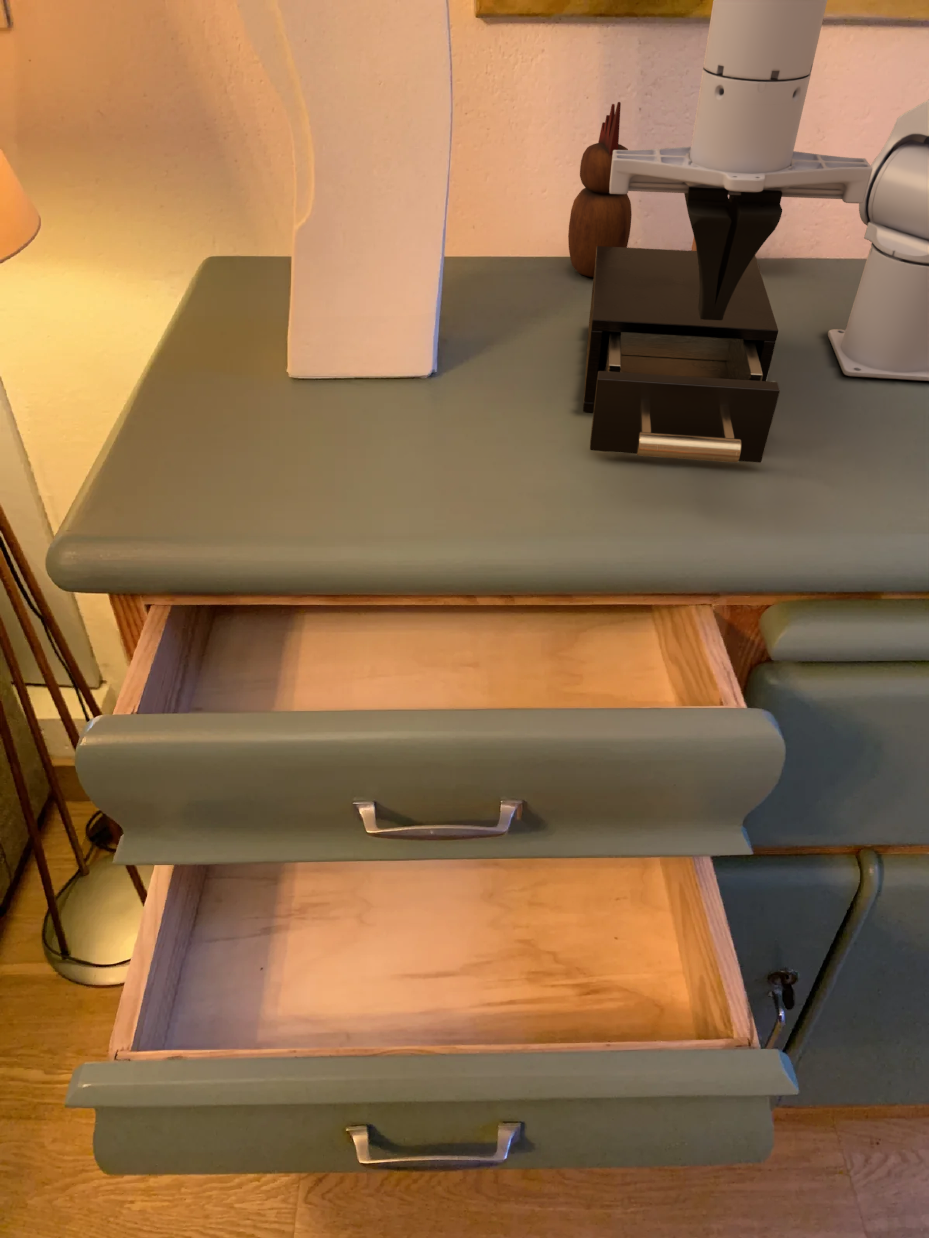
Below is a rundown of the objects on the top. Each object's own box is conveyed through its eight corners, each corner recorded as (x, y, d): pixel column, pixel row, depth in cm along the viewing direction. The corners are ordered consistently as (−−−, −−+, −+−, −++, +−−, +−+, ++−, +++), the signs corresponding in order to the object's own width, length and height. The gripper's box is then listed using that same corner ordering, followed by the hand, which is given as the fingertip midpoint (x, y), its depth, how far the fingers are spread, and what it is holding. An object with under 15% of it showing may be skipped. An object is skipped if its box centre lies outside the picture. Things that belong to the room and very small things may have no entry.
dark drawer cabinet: (755, 423, 65) (778, 330, 60) (582, 412, 66) (592, 319, 62) (736, 338, 76) (755, 254, 71) (588, 329, 77) (596, 246, 72)
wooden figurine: (622, 286, 84) (644, 108, 74) (561, 281, 85) (575, 104, 75) (627, 261, 89) (648, 90, 79) (569, 256, 90) (583, 87, 80)
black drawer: (771, 511, 55) (793, 436, 52) (587, 497, 56) (595, 423, 53) (741, 371, 69) (756, 304, 66) (594, 362, 70) (601, 296, 67)
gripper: (622, 83, 46) (596, 334, 55) (913, 91, 45) (837, 346, 54) (621, 56, 51) (597, 289, 60) (882, 62, 50) (817, 300, 59)
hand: (710, 313), depth 57 cm, fingers closed
